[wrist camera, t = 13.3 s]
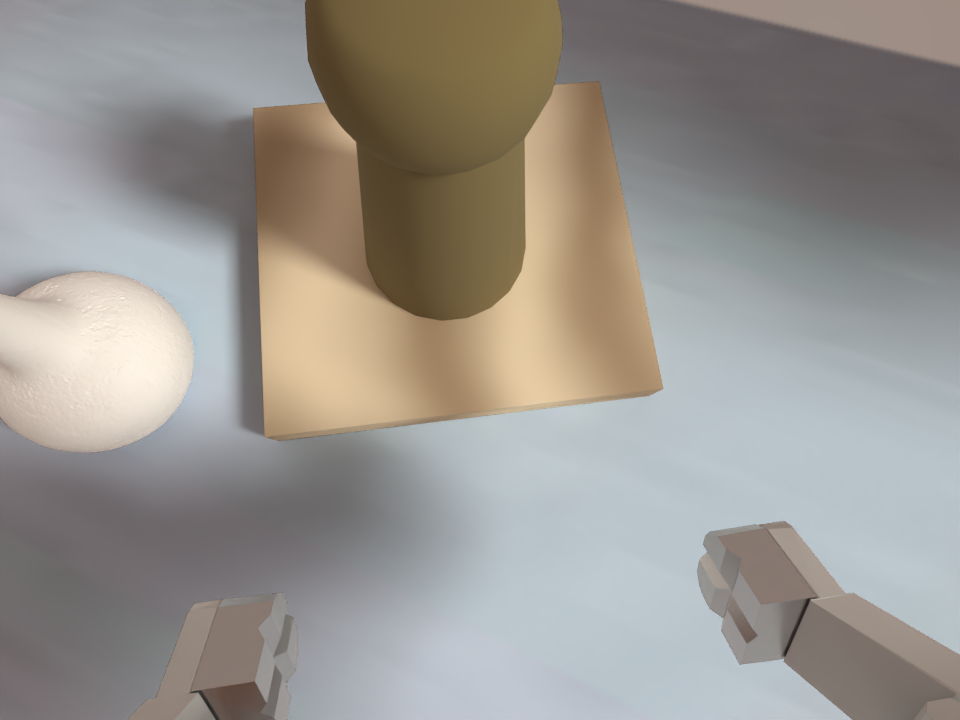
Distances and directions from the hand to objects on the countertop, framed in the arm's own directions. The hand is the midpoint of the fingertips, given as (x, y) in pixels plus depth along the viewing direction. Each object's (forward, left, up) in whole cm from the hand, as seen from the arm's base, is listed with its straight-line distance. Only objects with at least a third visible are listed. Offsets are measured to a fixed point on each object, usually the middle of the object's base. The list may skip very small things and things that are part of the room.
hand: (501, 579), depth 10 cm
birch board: (0, -11, -9) cm, 14 cm away
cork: (0, -11, -8) cm, 13 cm away
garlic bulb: (+13, -8, -9) cm, 18 cm away
